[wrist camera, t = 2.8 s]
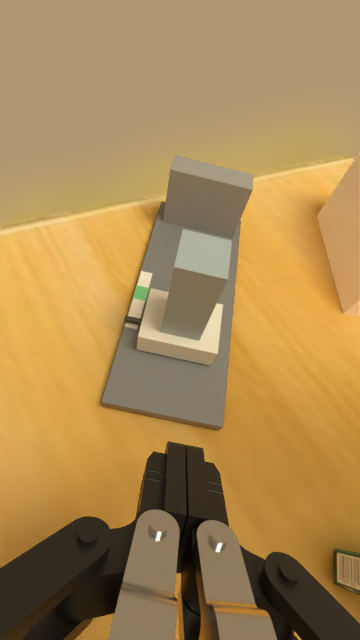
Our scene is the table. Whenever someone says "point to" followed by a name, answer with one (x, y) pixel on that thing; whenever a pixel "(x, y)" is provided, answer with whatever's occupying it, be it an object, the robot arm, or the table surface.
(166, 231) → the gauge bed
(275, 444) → the table surface
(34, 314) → the table surface
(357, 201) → the white house-shaped block
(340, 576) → the coffee box
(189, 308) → the gauge slider
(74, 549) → the robot arm
